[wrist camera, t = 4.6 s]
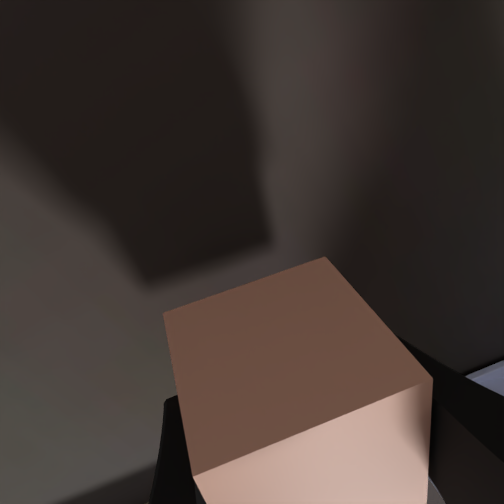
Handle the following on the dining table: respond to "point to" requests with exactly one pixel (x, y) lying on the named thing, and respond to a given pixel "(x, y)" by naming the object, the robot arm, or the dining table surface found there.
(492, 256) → the dining table surface
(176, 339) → the terracotta cube
